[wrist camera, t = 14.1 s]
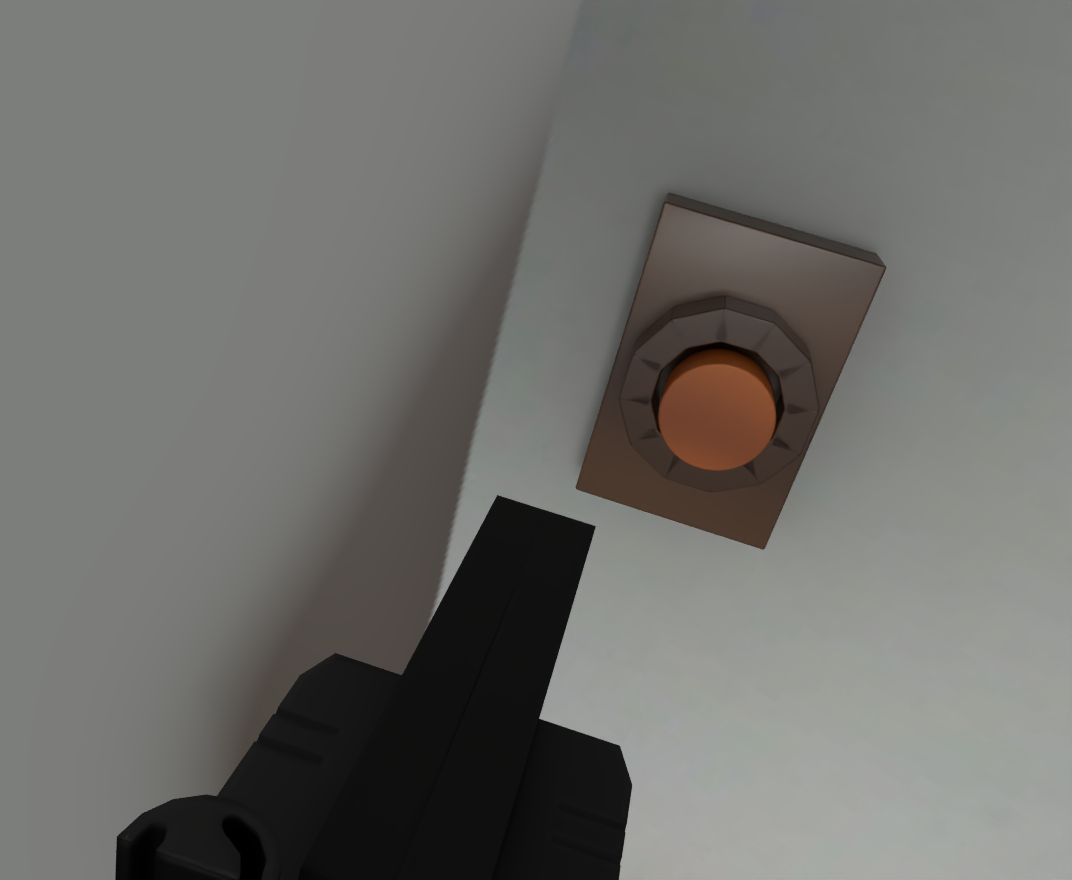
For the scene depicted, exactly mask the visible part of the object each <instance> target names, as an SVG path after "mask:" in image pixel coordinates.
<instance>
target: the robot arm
mask: <svg viewBox="0 0 1072 880" xmlns="http://www.w3.org/2000/svg"><path fill="white" fill-rule="evenodd" d="M595 527H596V526H593V525H590V524H587V523H584V522H581V521H577V520H574V519H571V518H568V517H565V516H561V515H558V514H555V513H552V512H549V511H546V510H542V509H539V508H536V507H533V506H530V505H527V504H523V503H520V502H517V501H514V500H511V499H508V498H504V497H501V496H498V495H497V497H496V499H495V501H494V503H493V504H492V506H491V508H490V510H489V512H488V514H487V516H486V518H485V520H484V521H483V523H482V525H481V527H480V529H479V531H478V533H477V535H476V537H475V538H474V540H473V542H472V544H471V546H470V548H469V550H468V552H467V554H466V555H465V557H464V559H463V561H462V563H461V565H460V567H459V569H458V571H457V572H456V574H455V576H454V578H453V580H452V582H451V584H450V586H449V588H448V589H447V591H446V593H445V595H444V597H443V599H442V601H441V603H440V605H439V606H438V608H437V610H436V612H435V614H434V616H433V618H432V620H431V622H430V623H429V625H428V627H427V629H426V631H425V633H424V635H423V637H422V639H421V640H420V642H419V644H418V646H417V648H416V650H415V652H414V654H413V656H412V657H411V659H410V661H409V663H408V665H407V667H406V669H405V671H404V673H403V674H402V675H399V674H396V673H393V672H390V671H387V670H384V669H381V668H378V667H375V666H372V665H369V664H366V663H363V662H360V661H357V660H354V659H351V658H348V657H345V656H342V655H339V654H337V653H335V654H333V655H332V656H330V657H329V658H327V659H325V660H324V661H322V662H321V663H319V664H317V665H316V666H314V667H313V668H311V669H309V670H308V671H306V672H305V673H303V674H301V675H300V676H299V678H298V679H297V681H296V682H295V684H294V685H293V687H292V688H291V689H290V691H289V692H288V694H287V695H286V697H285V698H284V700H283V701H282V702H281V704H280V706H279V707H278V710H277V712H276V714H273V716H272V717H271V718H270V720H269V721H268V723H267V724H266V726H265V727H264V729H263V730H262V731H261V733H260V734H259V738H258V740H257V742H254V743H253V745H252V746H251V747H250V749H249V750H248V752H247V753H246V755H245V756H244V758H243V759H242V761H241V762H240V763H239V765H238V766H237V768H236V769H235V771H234V772H233V774H232V775H231V776H230V778H229V779H228V781H227V782H226V784H225V785H224V787H223V788H222V789H221V791H220V792H219V794H218V796H211V795H200V796H193V797H186V798H179V799H173V800H170V801H168V802H167V803H164V804H162V805H160V806H157V807H155V808H153V809H151V810H149V811H147V812H144V813H142V814H141V815H140V816H139V817H138V818H137V819H136V820H134V821H133V822H132V823H131V824H130V825H129V826H128V827H127V828H126V829H125V830H124V831H122V832H121V833H120V834H119V835H118V836H117V850H116V880H619V873H620V861H621V858H622V852H623V846H624V839H625V828H626V824H627V818H628V811H629V804H630V797H631V790H632V783H631V780H630V777H629V773H628V770H627V767H626V764H625V761H624V758H623V755H622V751H621V748H620V746H619V745H616V744H613V743H610V742H607V741H604V740H601V739H598V738H595V737H592V736H589V735H586V734H583V733H580V732H577V731H574V730H571V729H568V728H565V727H562V726H559V725H556V724H553V723H550V722H547V721H544V720H541V719H539V717H540V713H541V710H542V707H543V703H544V700H545V696H546V693H547V690H548V686H549V683H550V679H551V676H552V673H553V669H554V666H555V662H556V659H557V656H558V652H559V649H560V645H561V642H562V639H563V635H564V632H565V629H566V625H567V622H568V618H569V615H570V612H571V608H572V605H573V601H574V598H575V595H576V591H577V588H578V584H579V581H580V578H581V574H582V571H583V568H584V564H585V561H586V557H587V554H588V551H589V547H590V544H591V540H592V537H593V534H594V530H595Z"/></svg>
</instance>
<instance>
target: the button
mask: <svg viewBox="0 0 1072 880" xmlns="http://www.w3.org/2000/svg"><path fill="white" fill-rule="evenodd" d="M658 422H659V428H660V431H661V434H662V437H663V439H664V441H665V442H666V444H667V446H668V447H669V448H670V449H671V451H672V452H673V453H674V454H675V455H676V456H678V457H679V458H680V459H682V460H683V461H684V462H686V463H688V464H690V465H692V466H695V467H698V468H701V469H705V470H716V471H721V470H729V469H733V468H737V467H739V466H742V465H744V464H746V463H748V462H750V461H751V460H753V459H754V458H756V457H757V456H758V455H759V454H760V453H761V452H762V451H763V450H764V449H765V448H766V446H767V445H768V443H769V442H770V440H771V438H772V436H773V433H774V429H775V424H776V409H775V401H774V392H773V388H772V385H771V382H770V380H769V378H768V376H767V374H766V373H765V371H764V370H763V369H762V368H761V367H760V366H759V365H758V364H757V363H756V362H755V361H754V360H752V359H751V358H749V357H747V356H746V355H744V354H741V353H739V352H736V351H732V350H727V349H709V350H704V351H700V352H697V353H695V354H692V355H690V356H689V357H687V358H685V359H684V360H682V361H681V362H680V363H679V364H678V365H677V366H676V367H675V368H674V369H673V370H672V371H671V373H670V374H669V376H668V378H667V379H666V382H665V384H664V387H663V391H662V396H661V401H660V406H659V413H658Z"/></svg>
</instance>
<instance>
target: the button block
mask: <svg viewBox="0 0 1072 880" xmlns="http://www.w3.org/2000/svg"><path fill="white" fill-rule="evenodd" d="M885 270H886V266H885V265H884V263H883V262H882V261H881V259H880V258H879V256H878V255H877V254H876V253H872V252H869V251H865V250H862V249H859V248H855V247H852V246H848V245H845V244H842V243H838V242H835V241H831V240H828V239H825V238H821V237H818V236H814V235H811V234H808V233H804V232H801V231H797V230H794V229H791V228H787V227H784V226H780V225H777V224H774V223H770V222H767V221H763V220H760V219H757V218H753V217H750V216H746V215H743V214H740V213H736V212H733V211H729V210H726V209H723V208H719V207H716V206H712V205H709V204H706V203H702V202H699V201H695V200H692V199H689V198H685V197H682V196H678V195H675V194H672V193H668V195H667V197H666V199H665V201H664V204H663V207H662V210H661V213H660V217H659V220H658V223H657V226H656V230H655V233H654V236H653V239H652V242H651V246H650V249H649V252H648V255H647V259H646V262H645V265H644V268H643V272H642V275H641V278H640V281H639V284H638V288H637V291H636V294H635V297H634V301H633V304H632V307H631V310H630V313H629V317H628V320H627V323H626V326H625V330H624V333H623V336H622V339H621V343H620V346H619V349H618V352H617V355H616V359H615V362H614V365H613V368H612V372H611V375H610V378H609V381H608V384H607V388H606V391H605V394H604V397H603V401H602V404H601V407H600V410H599V414H598V417H597V420H596V423H595V426H594V430H593V433H592V436H591V439H590V443H589V446H588V449H587V452H586V456H585V459H584V462H583V465H582V468H581V472H580V475H579V478H578V481H577V485H576V489H577V490H580V491H583V492H586V493H589V494H592V495H596V496H599V497H602V498H605V499H608V500H611V501H614V502H617V503H620V504H623V505H627V506H630V507H633V508H636V509H639V510H642V511H645V512H648V513H651V514H654V515H658V516H661V517H664V518H667V519H670V520H673V521H676V522H679V523H682V524H685V525H689V526H692V527H695V528H698V529H701V530H704V531H707V532H710V533H713V534H716V535H720V536H723V537H726V538H729V539H732V540H735V541H738V542H741V543H744V544H748V545H751V546H754V547H757V548H760V549H765V547H766V545H767V542H768V540H769V538H770V535H771V533H772V531H773V529H774V526H775V524H776V522H777V519H778V517H779V515H780V512H781V510H782V508H783V505H784V503H785V501H786V498H787V496H788V494H789V492H790V489H791V487H792V485H793V482H794V480H795V478H796V475H797V473H798V471H799V468H800V466H801V464H802V462H803V459H804V457H805V455H806V452H807V450H808V448H809V445H810V443H811V441H812V438H813V436H814V434H815V431H816V429H817V427H818V425H819V422H820V420H821V418H822V415H823V413H824V411H825V408H826V406H827V404H828V401H829V399H830V397H831V394H832V392H833V390H834V388H835V385H836V383H837V381H838V378H839V376H840V374H841V371H842V369H843V367H844V364H845V362H846V360H847V358H848V355H849V353H850V351H851V348H852V346H853V344H854V341H855V339H856V337H857V334H858V332H859V330H860V327H861V325H862V323H863V321H864V318H865V316H866V314H867V311H868V309H869V307H870V304H871V302H872V300H873V297H874V295H875V293H876V290H877V288H878V286H879V284H880V281H881V279H882V277H883V274H884V272H885ZM709 349H727V350H732V351H736V352H739V353H741V354H744V355H746V356H747V357H749V358H751V359H752V360H754V361H755V362H756V363H757V364H758V365H759V366H760V367H761V368H762V369H763V370H764V371H765V373H766V374H767V376H768V378H769V380H770V382H771V385H772V388H773V392H774V401H775V409H776V424H775V429H774V433H773V436H772V438H771V440H770V442H769V443H768V445H767V446H766V448H765V449H764V450H763V451H762V452H761V453H760V454H759V455H758V456H757V457H756V458H754V459H753V460H751V461H750V462H748V463H746V464H744V465H742V466H739V467H737V468H733V469H729V470H721V471H716V470H705V469H701V468H698V467H695V466H692V465H690V464H688V463H686V462H684V461H683V460H682V459H680V458H679V457H678V456H676V455H675V454H674V453H673V452H672V451H671V449H670V448H669V447H668V446H667V444H666V442H665V441H664V439H663V437H662V434H661V431H660V428H659V422H658V413H659V406H660V401H661V396H662V391H663V387H664V384H665V382H666V379H667V378H668V376H669V374H670V373H671V371H672V370H673V369H674V368H675V367H676V366H677V365H678V364H679V363H680V362H681V361H682V360H684V359H685V358H687V357H689V356H690V355H692V354H695V353H697V352H700V351H704V350H709Z"/></svg>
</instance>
